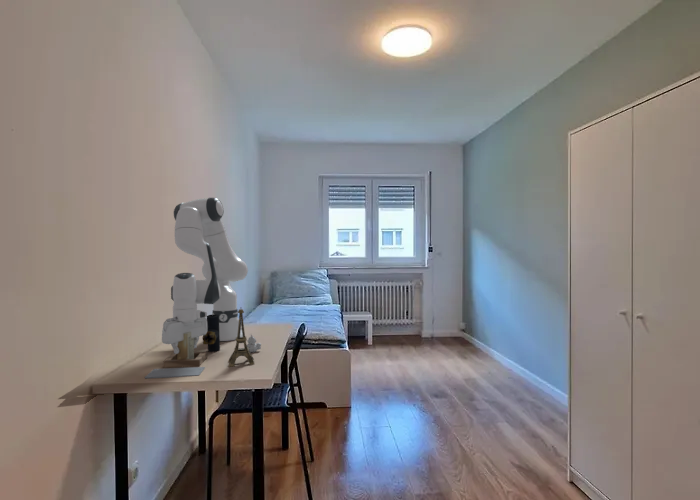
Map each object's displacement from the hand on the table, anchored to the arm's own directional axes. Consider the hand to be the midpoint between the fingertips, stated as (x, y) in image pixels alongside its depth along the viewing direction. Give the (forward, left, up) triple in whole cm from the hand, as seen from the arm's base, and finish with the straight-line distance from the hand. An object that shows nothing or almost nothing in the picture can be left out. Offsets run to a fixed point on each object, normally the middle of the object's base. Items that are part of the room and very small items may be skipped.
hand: (185, 350), depth 173 cm
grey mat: (+14, 0, -5) cm, 15 cm away
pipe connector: (-16, +7, -5) cm, 18 cm away
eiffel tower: (+5, +22, -5) cm, 23 cm away
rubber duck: (-13, +24, -5) cm, 28 cm away
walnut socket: (0, 0, -5) cm, 5 cm away
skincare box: (0, 0, -5) cm, 5 cm away
